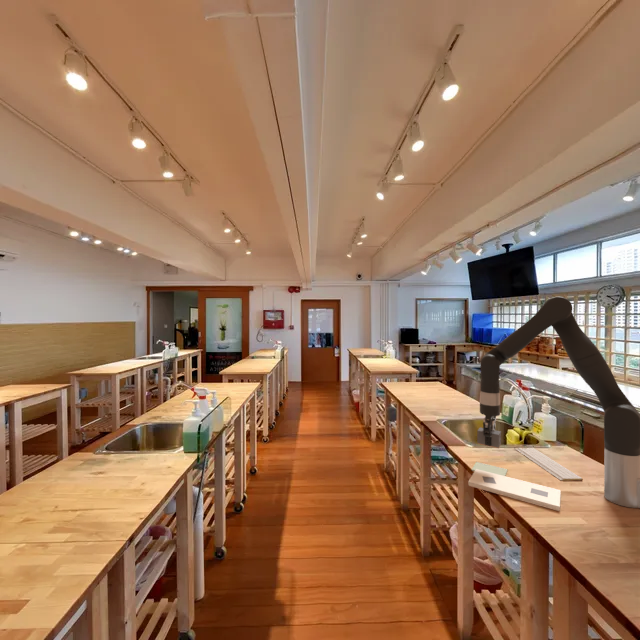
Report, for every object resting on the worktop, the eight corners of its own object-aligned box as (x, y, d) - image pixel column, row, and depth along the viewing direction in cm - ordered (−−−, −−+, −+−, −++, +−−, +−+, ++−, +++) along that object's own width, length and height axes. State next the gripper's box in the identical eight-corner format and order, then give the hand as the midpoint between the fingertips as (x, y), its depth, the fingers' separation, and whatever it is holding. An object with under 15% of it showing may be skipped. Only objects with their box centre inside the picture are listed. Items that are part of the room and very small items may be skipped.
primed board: (560, 494, 119) (560, 490, 119) (559, 511, 109) (559, 506, 109) (476, 472, 136) (476, 468, 136) (468, 485, 126) (468, 481, 126)
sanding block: (500, 444, 138) (501, 431, 138) (498, 448, 134) (498, 434, 134) (479, 440, 143) (480, 427, 143) (477, 443, 139) (477, 430, 139)
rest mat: (507, 470, 138) (507, 469, 138) (504, 478, 131) (504, 477, 131) (476, 462, 145) (476, 461, 145) (471, 470, 138) (471, 469, 138)
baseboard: (556, 482, 129) (582, 482, 129) (556, 474, 129) (582, 475, 129) (512, 450, 160) (533, 450, 160) (512, 444, 160) (533, 445, 160)
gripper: (496, 407, 130) (496, 451, 130) (502, 400, 141) (502, 440, 142) (476, 404, 135) (475, 446, 135) (483, 397, 146) (483, 436, 146)
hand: (489, 443), depth 138 cm, fingers closed on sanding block, 5 cm apart
